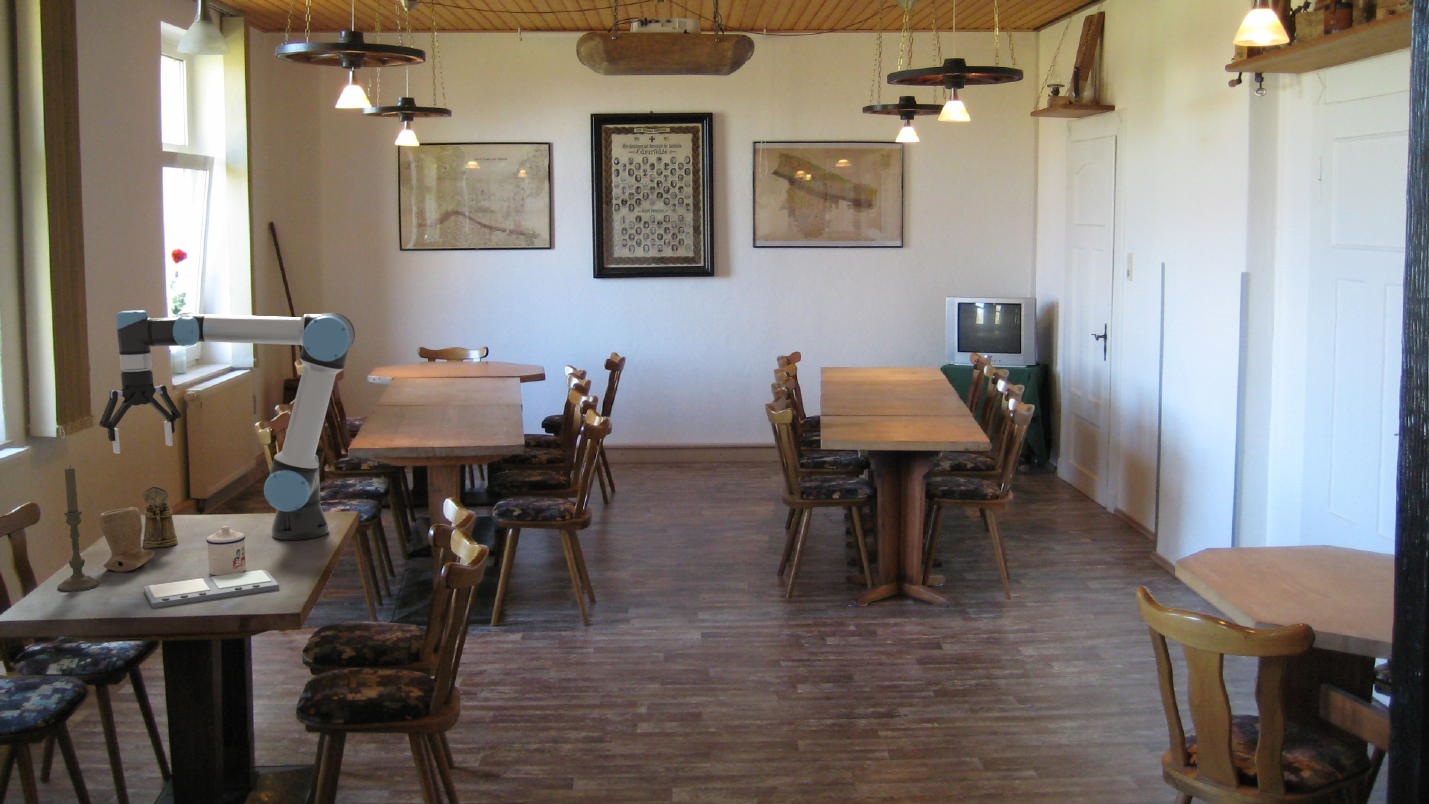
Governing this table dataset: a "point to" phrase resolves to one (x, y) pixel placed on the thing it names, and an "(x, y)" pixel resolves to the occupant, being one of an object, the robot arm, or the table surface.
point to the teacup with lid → (226, 552)
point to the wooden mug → (158, 520)
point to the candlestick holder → (75, 539)
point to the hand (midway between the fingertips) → (143, 449)
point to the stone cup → (124, 539)
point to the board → (210, 588)
